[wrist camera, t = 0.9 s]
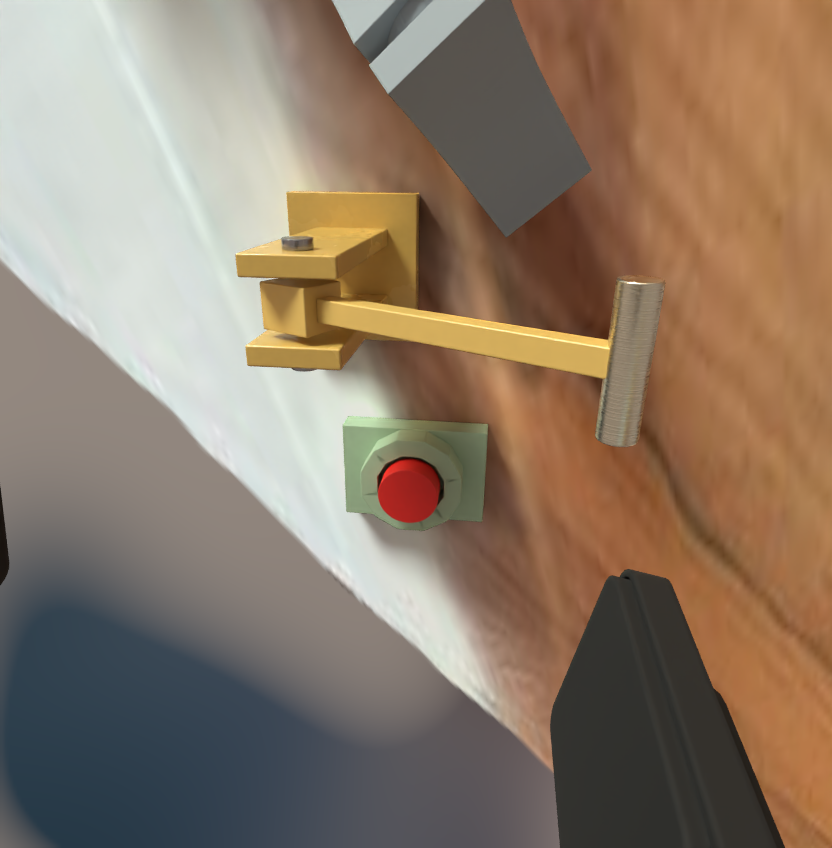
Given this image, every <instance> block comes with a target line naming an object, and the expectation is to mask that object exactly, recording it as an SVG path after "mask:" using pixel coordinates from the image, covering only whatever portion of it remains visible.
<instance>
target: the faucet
mask: <svg viewBox="0 0 832 848" xmlns="http://www.w3.org/2000/svg"><path fill="white" fill-rule="evenodd" d="M332 1H333V3H334V5H335V7H336V9H337V11H338V13H339V15H340V17H341V19H342V21H343V23H344V25H345V27H346V29H347V31H348V33H349V35H350V38H351V40H352V42H353V44H354V45H355V46H356V47H357V49H358V50H359V51H360V52H361V53H362V54H363V56H364V57H365V58H366V59H367V60H368V61H369V62H370V65H369V67H370V68H371V70H372V71H373V73H374V74H375V76H376V77H377V78H378V80H379V81H380V83H381V84H382V86H383V87H384V89H385V90H386V92H387V93H388V94H389V96H390V97H391V98H392V99H393V100H394V101H395V102H396V104H397V105H398V106H399V107H400V108H401V109H402V110H403V112H404V113H405V114H406V115H407V116H408V117H409V118H410V120H411V121H412V122H413V123H414V124H415V125H416V126H417V128H418V129H419V130H420V131H421V132H422V133H423V135H424V136H425V137H426V138H427V139H428V141H429V142H430V143H431V144H432V145H433V146H434V148H435V149H436V150H437V151H438V153H439V154H440V155H441V156H442V157H443V159H444V160H445V161H446V162H447V164H448V165H449V166H450V167H451V169H452V170H453V171H454V172H455V174H456V175H457V176H458V177H459V179H460V180H461V181H462V182H463V184H464V185H465V186H466V187H467V189H468V190H469V191H470V192H471V194H472V195H473V196H474V197H475V199H476V200H477V201H478V203H479V204H480V205H481V206H482V208H483V209H484V210H485V211H486V213H487V214H488V215H489V217H490V218H491V219H492V220H493V222H494V223H495V224H496V225H497V227H498V228H499V229H500V231H501V232H502V233H503V234H504V236H505V237H508V236H509V235H510V234H512V233H513V232H514V231H515V230H517V229H518V228H519V227H521V226H522V225H523V224H524V223H526V222H527V221H528V220H529V219H531V218H532V217H533V216H534V215H536V214H537V213H538V212H540V211H541V210H542V209H543V208H545V207H546V206H547V205H548V204H550V203H551V202H552V201H553V200H555V199H556V198H557V197H559V196H560V195H561V194H562V193H564V192H565V191H566V190H567V189H569V188H570V187H571V186H573V185H574V184H575V183H576V182H578V181H579V180H580V179H581V178H583V177H584V176H585V175H586V174H588V173H589V172H590V171H591V168H590V166H589V164H588V162H587V160H586V158H585V156H584V155H583V153H582V151H581V149H580V147H579V145H578V143H577V142H576V140H575V138H574V136H573V134H572V132H571V130H570V128H569V126H568V124H567V123H566V121H565V119H564V117H563V115H562V113H561V111H560V109H559V107H558V105H557V104H556V102H555V99H554V97H553V95H552V93H551V91H550V89H549V87H548V85H547V83H546V81H545V79H544V77H543V75H542V73H541V71H540V69H539V67H538V65H537V63H536V61H535V58H534V56H533V54H532V51H531V49H530V47H529V44H528V42H527V40H526V37H525V35H524V32H523V30H522V27H521V25H520V22H519V20H518V17H517V15H516V12H515V10H514V7H513V4H512V2H511V0H332Z"/></svg>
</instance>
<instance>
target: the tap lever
mask: <svg viewBox="0 0 832 848" xmlns="http://www.w3.org/2000/svg"><path fill="white" fill-rule="evenodd" d="M664 288H665V280H663V279H661V278H657V277H651V276H640V275H627V276H621V277H618V278H617V281H616V288H615V295H614V302H613V309H612V316H611V324H610V331H609V338H608V340H604V339H598V338H592V337H585V336H579V335H573V334H567V333H560V332H554V331H548V330H542V329H536V328H529V327H523V326H517V325H511V324H504V323H498V322H492V321H486V320H479V319H473V318H467V317H461V316H455V315H448V314H442V313H436V312H430V311H423V310H417V309H411V308H405V307H398V306H392V305H386V304H380V303H374V302H367V301H361V300H355V299H349V298H342V297H341V288H340V281H336V280H322V279H288V278H278V279H272V280H266V281H261V282H260V291H261V302H262V313H263V323H264V329H267V330H272V331H277V332H281V333H286V334H290V335H295V336H300V337H304V338H308V337H312V336H315V335H319V334H322V333H325V332H329V331H332V330H336V329H339V328H346V329H351V330H356V331H361V332H366V333H372V334H377V335H382V336H387V337H392V338H397V339H402V340H407V341H412V342H417V343H423V344H428V345H433V346H438V347H443V348H448V349H453V350H458V351H463V352H468V353H474V354H479V355H484V356H489V357H494V358H499V359H504V360H509V361H514V362H519V363H525V364H530V365H535V366H540V367H545V368H550V369H555V370H560V371H565V372H570V373H575V374H581V375H586V376H591V377H596V378H601V379H603V381H602V388H601V395H600V403H599V410H598V417H597V424H596V431H595V436H596V439H597V440H598V441H600V442H602V443H604V444H607V445H610V446H615V447H630V446H633V445H635V444H637V442H638V440H639V434H640V428H641V422H642V417H643V411H644V405H645V399H646V393H647V387H648V382H649V376H650V370H651V364H652V358H653V352H654V347H655V341H656V335H657V329H658V323H659V317H660V312H661V306H662V300H663V294H664Z"/></svg>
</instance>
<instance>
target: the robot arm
mask: <svg viewBox="0 0 832 848" xmlns="http://www.w3.org/2000/svg"><path fill="white" fill-rule="evenodd" d="M8 570H9V556H8V548H7V539H6V531H5V522H4V514H3V505H2V497H1V488H0V585H1V584H2V582H3V581H4V579H5V577H6V575H7V573H8ZM550 732H551V744H552V756H553V768H554V779H555V791H556V803H557V815H558V827H559V839H560V848H785V846H784V844H783V842H782V839H781V837H780V834H779V832H778V829H777V827H776V824H775V822H774V820H773V817H772V815H771V812H770V810H769V807H768V805H767V803H766V800H765V798H764V795H763V793H762V790H761V788H760V786H759V783H758V781H757V778H756V776H755V773H754V771H753V769H752V766H751V764H750V761H749V759H748V756H747V754H746V752H745V749H744V747H743V744H742V742H741V739H740V737H739V735H738V732H737V730H736V727H735V725H734V722H733V720H732V718H731V715H730V713H729V710H728V708H727V705H726V703H725V702H724V700H723V698H722V696H721V695H720V693H718V692H717V691H716V690H715V689H714V688H713V686H712V684H711V681H710V679H709V676H708V674H707V671H706V669H705V666H704V664H703V661H702V659H701V656H700V654H699V651H698V649H697V646H696V644H695V641H694V639H693V636H692V634H691V631H690V629H689V626H688V624H687V621H686V619H685V616H684V614H683V611H682V609H681V606H680V604H679V601H678V599H677V596H676V594H675V591H674V589H673V586H672V584H671V583H670V581H669V580H668V579H666V578H663V577H659V576H655V575H651V574H647V573H643V572H639V571H635V570H631V569H627V570H624V572H623V573H622V574H621V575H620V577H616V576H609V577H608V579H607V580H606V582H605V584H604V587H603V589H602V591H601V594H600V596H599V598H598V601H597V603H596V605H595V608H594V610H593V612H592V615H591V617H590V620H589V622H588V624H587V627H586V629H585V631H584V634H583V636H582V638H581V641H580V643H579V646H578V648H577V650H576V653H575V655H574V657H573V660H572V662H571V664H570V667H569V669H568V671H567V674H566V676H565V679H564V681H563V683H562V686H561V688H560V690H559V693H558V695H557V697H556V700H555V702H554V705H553V709H552V714H551V723H550Z"/></svg>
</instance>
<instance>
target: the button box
mask: <svg viewBox="0 0 832 848" xmlns="http://www.w3.org/2000/svg"><path fill="white" fill-rule="evenodd" d="M487 438H488V424H478V423H460V422H442V421H424V420H406V419H389V418H371V417H353V416H348V418H347V419H346V421H345V423H344V424H343V443H344V466H345V489H346V511H347V512H354V513H367V514H374V515H375V516H376V517H377V518H379V519H381V520H383V521H384V522H386V523H388V524H390V525H391V526H393V527H395V528H397V529H404V530H417V531H424V530H427V529H429V528H432V527H434V526H437V525H439V524H441V523H444V522H446V521H447V520H462V521H475V522H482V520H483V504H484V487H485V471H486V455H487ZM407 458H411V459H417V460H421V461H423V462H425V463H427V464H428V465H430V466H431V467H432V468H433V469H434V470H435V472H436V473H437V475H438V477H439V480H440V492H439V498H438V503H437V507H436V509H435V510H434V512H433V513H432V514H431V515H430V516H429V517H428V518H426V519H424V520H422V521H420V522H415V523H405V522H401V521H398V520H395V519H393V518H392V517H390V516H389V515H388V514H387V513H386V512H385V511H384V510H383V509H382V507H381V505H380V503H379V499H378V489H379V486H380V483H381V481H382V478H383V475H384V473H385V471H386V469H387V468H388V467H389V466H390V465H391V464H392V463H394V462H396V461H398V460H401V459H407Z"/></svg>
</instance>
